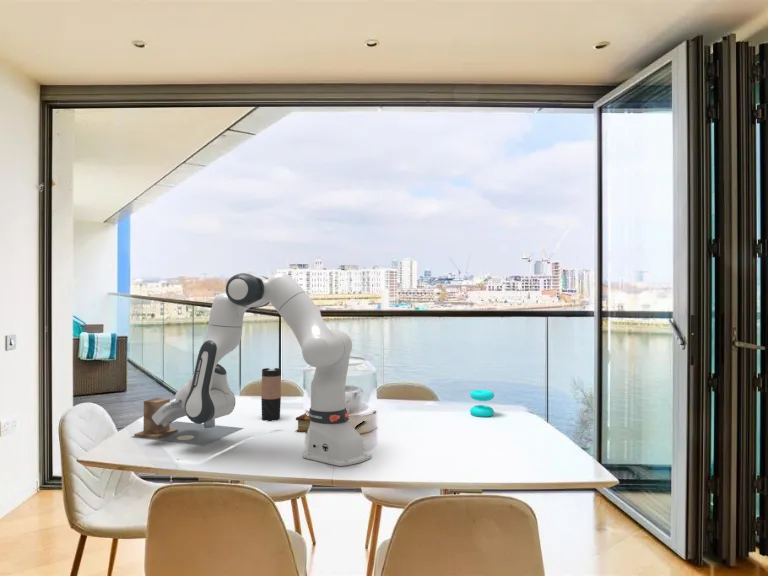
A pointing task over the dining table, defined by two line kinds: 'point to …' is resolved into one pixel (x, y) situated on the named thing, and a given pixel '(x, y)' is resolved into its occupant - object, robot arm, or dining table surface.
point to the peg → (209, 424)
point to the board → (196, 433)
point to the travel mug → (271, 394)
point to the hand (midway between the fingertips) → (165, 424)
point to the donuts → (482, 409)
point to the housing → (150, 426)
